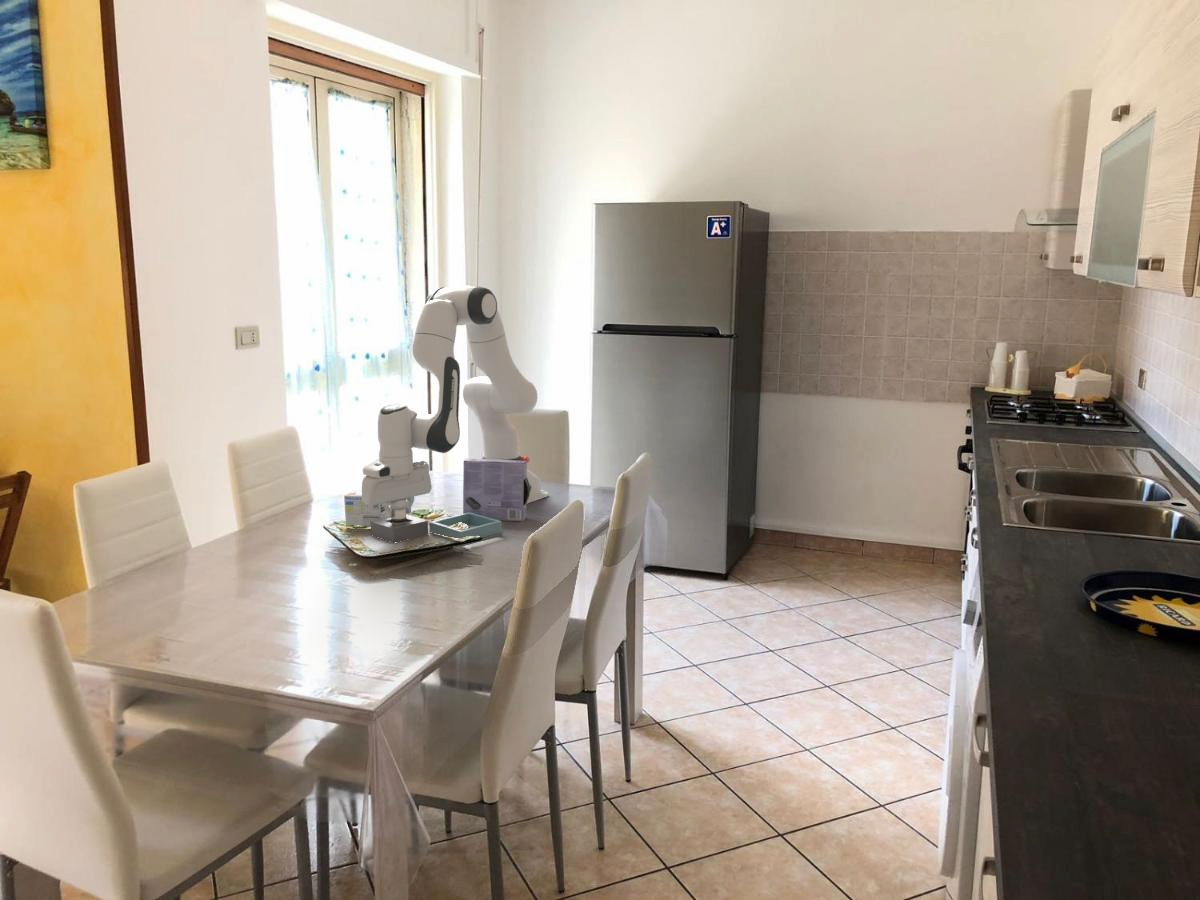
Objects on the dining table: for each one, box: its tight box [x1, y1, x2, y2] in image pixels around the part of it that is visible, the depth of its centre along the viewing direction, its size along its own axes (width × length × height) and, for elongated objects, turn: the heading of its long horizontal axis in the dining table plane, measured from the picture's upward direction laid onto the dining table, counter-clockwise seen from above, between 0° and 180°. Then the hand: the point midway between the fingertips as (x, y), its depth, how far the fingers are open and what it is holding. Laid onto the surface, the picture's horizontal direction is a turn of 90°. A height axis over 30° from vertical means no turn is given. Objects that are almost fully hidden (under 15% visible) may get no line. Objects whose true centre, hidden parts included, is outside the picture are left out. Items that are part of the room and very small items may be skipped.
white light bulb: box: [389, 498, 407, 525], centre depth 254 cm, size 4×4×10 cm
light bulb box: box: [343, 489, 387, 527], centre depth 263 cm, size 11×7×11 cm, turn 84°
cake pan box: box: [462, 458, 530, 522], centre depth 273 cm, size 19×5×18 cm, turn 84°
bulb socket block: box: [370, 513, 429, 544], centre depth 255 cm, size 11×11×5 cm
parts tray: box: [428, 512, 503, 547], centre depth 257 cm, size 14×14×4 cm
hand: (398, 515), depth 254 cm, fingers closed on white light bulb, 4 cm apart
